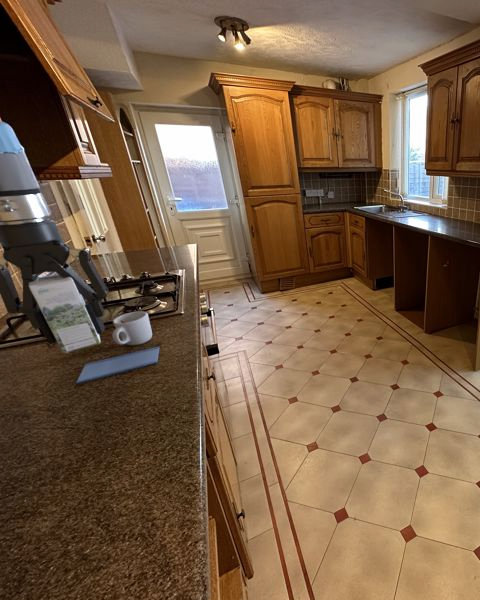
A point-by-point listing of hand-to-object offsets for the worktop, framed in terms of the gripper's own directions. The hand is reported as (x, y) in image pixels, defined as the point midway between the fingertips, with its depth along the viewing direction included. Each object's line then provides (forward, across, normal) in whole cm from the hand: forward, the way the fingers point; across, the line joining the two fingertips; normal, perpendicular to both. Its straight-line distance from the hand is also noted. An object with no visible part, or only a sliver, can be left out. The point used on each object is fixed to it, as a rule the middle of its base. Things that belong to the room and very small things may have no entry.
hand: (78, 335), depth 65 cm
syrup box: (+2, 0, 0) cm, 2 cm away
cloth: (+17, 0, +16) cm, 23 cm away
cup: (+17, +2, +27) cm, 32 cm away
